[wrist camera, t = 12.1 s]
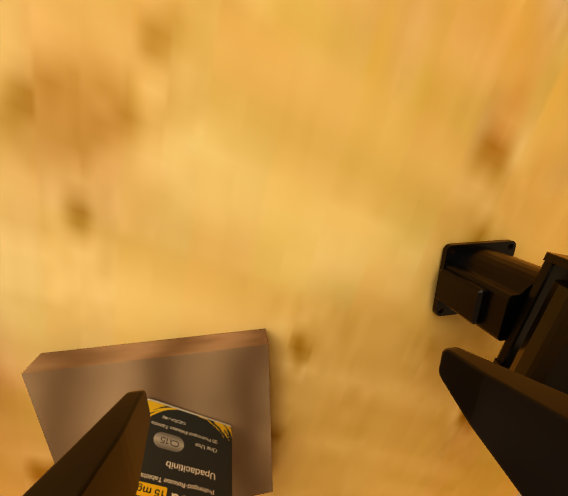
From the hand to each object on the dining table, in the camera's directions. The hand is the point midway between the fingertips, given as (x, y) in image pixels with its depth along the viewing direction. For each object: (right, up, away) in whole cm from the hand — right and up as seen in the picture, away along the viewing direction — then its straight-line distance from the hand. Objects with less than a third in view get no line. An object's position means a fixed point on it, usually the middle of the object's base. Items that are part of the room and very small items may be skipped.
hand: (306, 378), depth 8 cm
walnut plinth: (-10, -11, +16) cm, 21 cm away
